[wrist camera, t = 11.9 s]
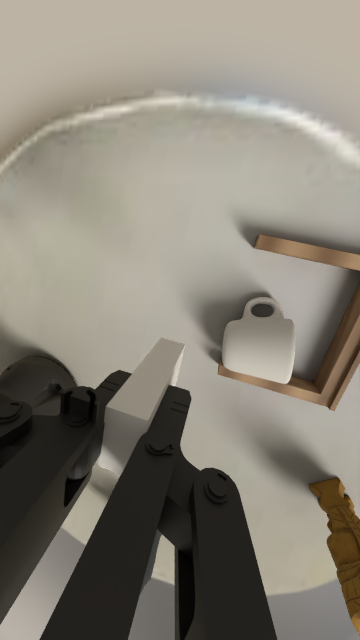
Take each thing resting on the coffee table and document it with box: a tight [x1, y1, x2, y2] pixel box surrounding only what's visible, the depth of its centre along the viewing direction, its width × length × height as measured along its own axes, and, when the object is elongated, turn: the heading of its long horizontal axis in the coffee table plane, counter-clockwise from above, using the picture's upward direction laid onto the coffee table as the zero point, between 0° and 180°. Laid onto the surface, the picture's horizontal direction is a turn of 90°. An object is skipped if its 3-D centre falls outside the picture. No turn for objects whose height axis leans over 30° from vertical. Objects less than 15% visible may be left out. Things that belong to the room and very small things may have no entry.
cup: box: [222, 297, 295, 384], centre depth 30 cm, size 11×8×8 cm
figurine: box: [309, 478, 360, 635], centre depth 30 cm, size 7×7×15 cm
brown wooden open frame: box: [218, 234, 360, 411], centre depth 30 cm, size 16×19×4 cm
